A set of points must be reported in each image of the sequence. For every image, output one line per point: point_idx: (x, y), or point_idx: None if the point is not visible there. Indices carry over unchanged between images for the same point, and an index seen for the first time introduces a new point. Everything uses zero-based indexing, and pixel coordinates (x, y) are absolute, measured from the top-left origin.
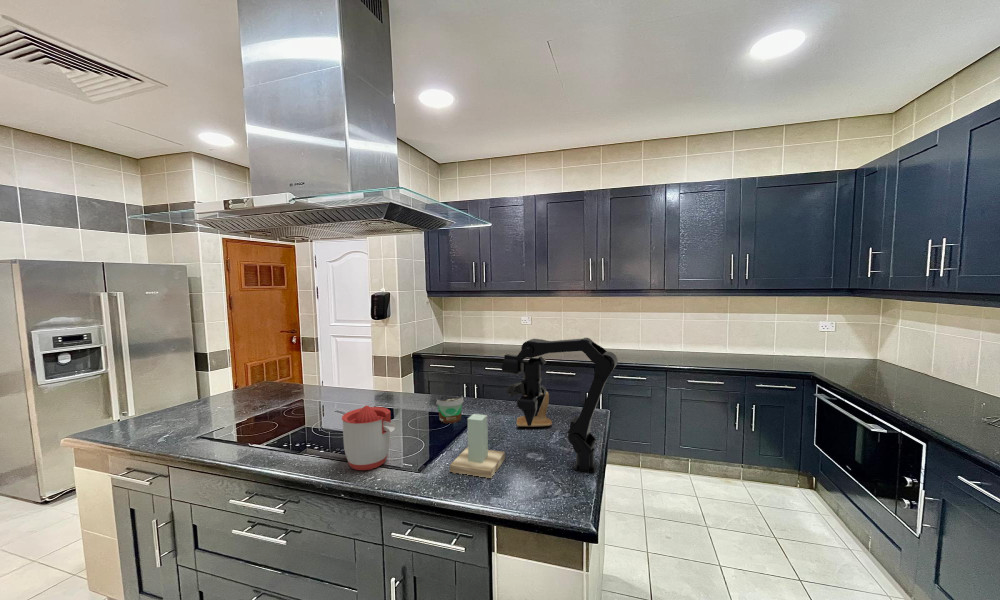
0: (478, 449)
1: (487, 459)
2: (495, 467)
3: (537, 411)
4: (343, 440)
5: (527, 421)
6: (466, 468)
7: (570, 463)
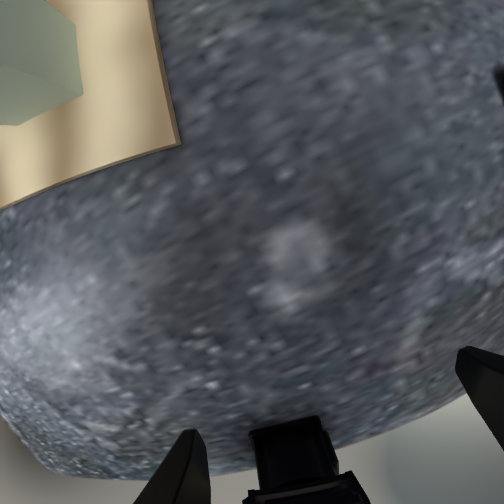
0: None
1: (52, 120)
2: (36, 192)
3: (479, 405)
4: None
5: (168, 467)
6: None
7: (296, 406)
